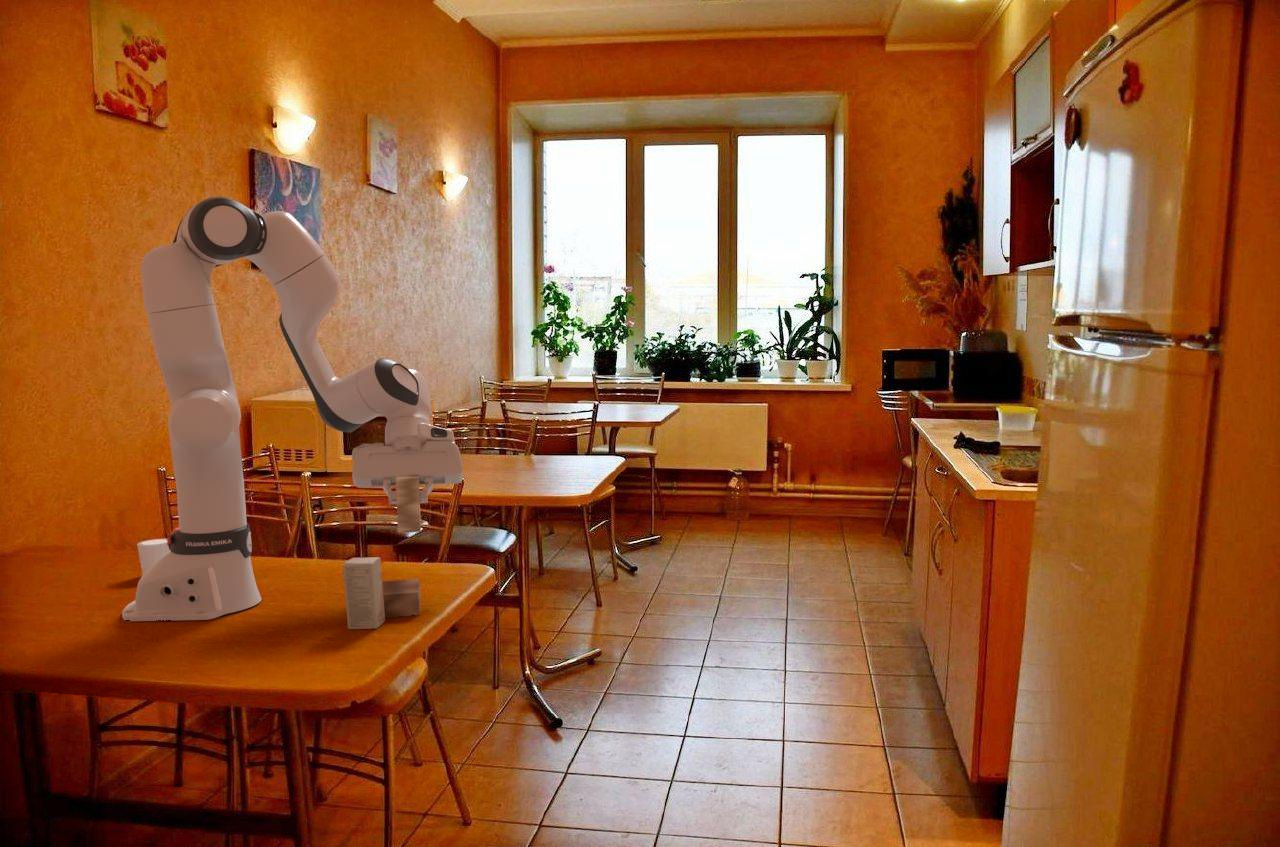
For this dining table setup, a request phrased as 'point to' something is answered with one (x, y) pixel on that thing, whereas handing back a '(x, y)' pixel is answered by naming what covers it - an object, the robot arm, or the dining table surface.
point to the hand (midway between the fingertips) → (408, 501)
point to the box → (364, 593)
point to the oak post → (408, 503)
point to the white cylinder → (152, 552)
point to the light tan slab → (401, 597)
